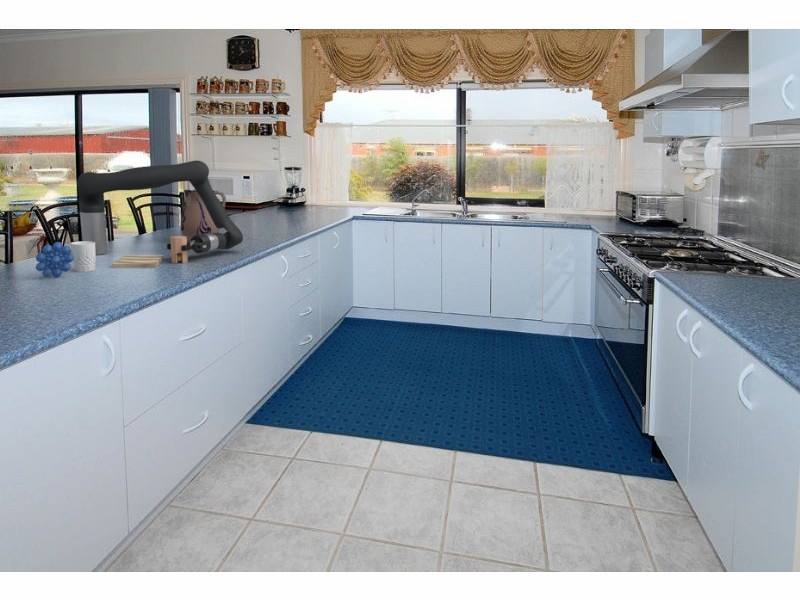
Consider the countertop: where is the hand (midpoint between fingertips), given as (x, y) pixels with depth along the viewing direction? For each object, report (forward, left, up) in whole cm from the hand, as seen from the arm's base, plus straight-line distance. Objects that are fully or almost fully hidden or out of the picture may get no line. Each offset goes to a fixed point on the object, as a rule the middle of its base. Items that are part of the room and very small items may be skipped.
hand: (174, 247), depth 245 cm
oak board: (+1, -13, -6) cm, 15 cm away
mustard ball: (-2, +1, -4) cm, 5 cm away
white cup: (+16, -29, -6) cm, 34 cm away
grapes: (+28, -35, -6) cm, 45 cm away
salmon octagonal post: (-2, +1, -6) cm, 6 cm away
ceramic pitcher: (-57, +5, -6) cm, 57 cm away
